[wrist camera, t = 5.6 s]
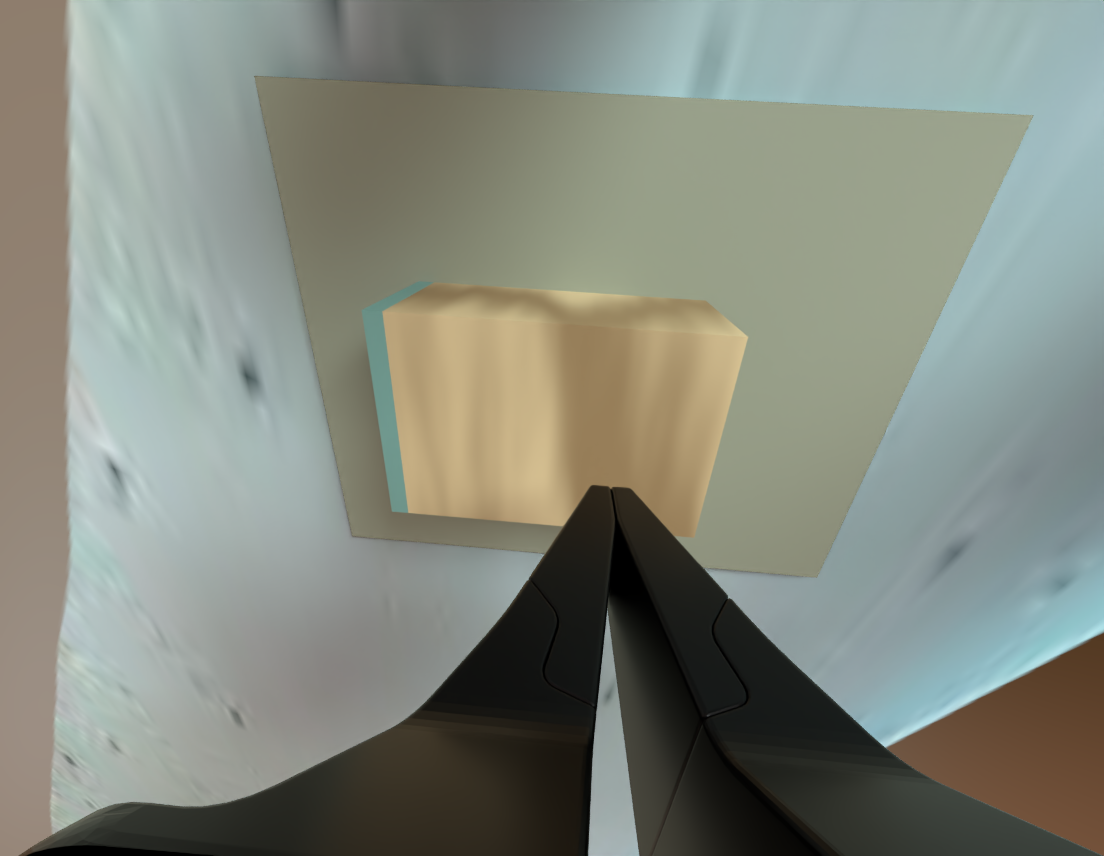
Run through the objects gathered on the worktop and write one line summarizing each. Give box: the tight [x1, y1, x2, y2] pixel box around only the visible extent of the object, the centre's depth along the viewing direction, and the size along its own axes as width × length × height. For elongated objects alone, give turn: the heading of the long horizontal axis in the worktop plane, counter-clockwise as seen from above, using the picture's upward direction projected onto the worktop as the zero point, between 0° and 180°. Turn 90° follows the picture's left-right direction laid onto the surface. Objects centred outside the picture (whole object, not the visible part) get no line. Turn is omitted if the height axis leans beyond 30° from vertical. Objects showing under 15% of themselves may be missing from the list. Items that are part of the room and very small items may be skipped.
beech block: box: [362, 281, 748, 538], centre depth 13 cm, size 4×6×9 cm
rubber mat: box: [254, 76, 1033, 578], centre depth 15 cm, size 20×16×1 cm
